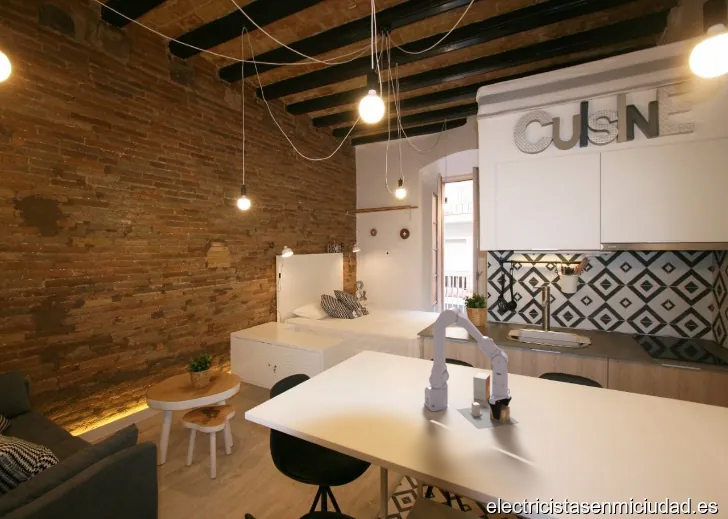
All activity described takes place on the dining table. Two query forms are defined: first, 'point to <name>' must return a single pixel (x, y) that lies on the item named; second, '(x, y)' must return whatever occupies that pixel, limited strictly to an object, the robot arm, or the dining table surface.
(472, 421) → the panel
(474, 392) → the small box
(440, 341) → the robot arm
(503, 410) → the wooden cubby shelf
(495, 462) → the dining table surface
